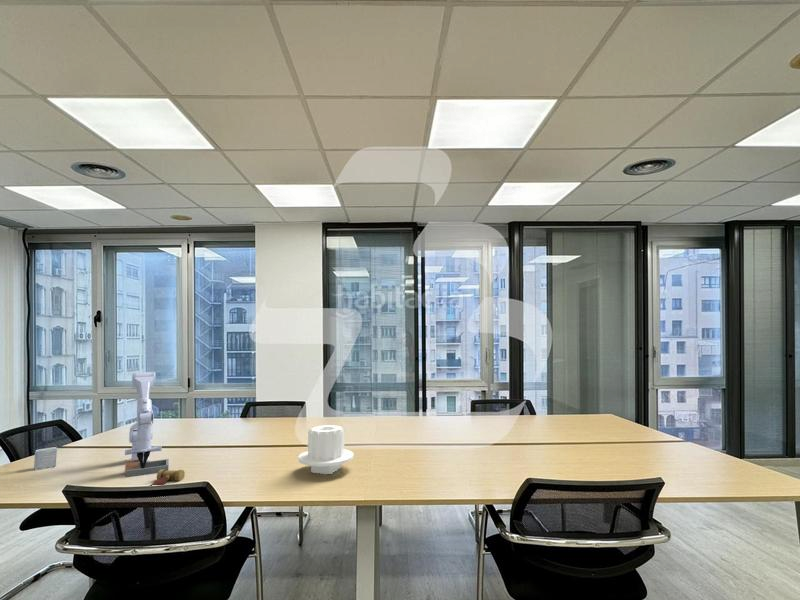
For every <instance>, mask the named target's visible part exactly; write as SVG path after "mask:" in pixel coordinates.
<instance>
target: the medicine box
mask: <svg viewBox="0 0 800 600" xmlns="http://www.w3.org/2000/svg"><path fill="white" fill-rule="evenodd" d="M57 454H58V447H56V446H55V447H46V448H40V449H35V450H34V463H33V469H39V470H42V469H41V468H45V469H48V468H47V467H51V468H54V467H53V466H56V467H57V456H58V455H57Z"/></svg>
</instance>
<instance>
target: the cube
mask: <svg viewBox="0 0 800 600" xmlns="http://www.w3.org/2000/svg"><path fill="white" fill-rule="evenodd" d="M139 463H140V462H139V459H137V460H131V459H130V460H126V462H125V465H124V475H125V476H126V471H127V470H135V469H139Z"/></svg>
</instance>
